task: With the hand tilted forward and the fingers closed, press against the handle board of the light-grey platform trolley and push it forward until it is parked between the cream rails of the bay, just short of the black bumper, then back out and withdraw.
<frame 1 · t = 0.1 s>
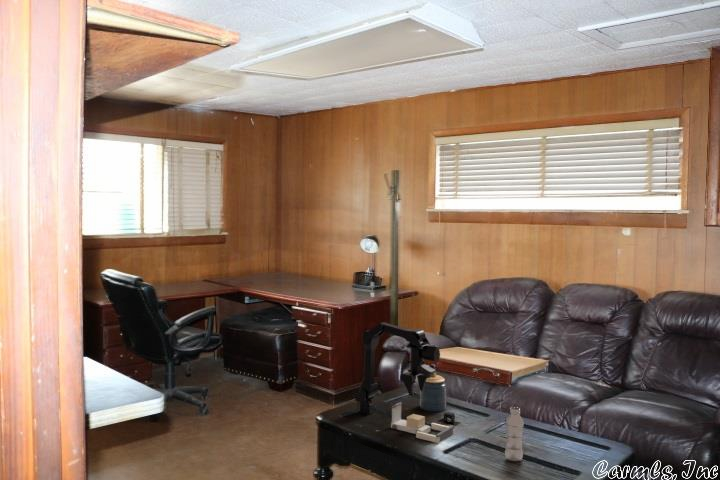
hand: (416, 392, 267), 15 cm above the table, tool pointing down, fingers open, 9 cm apart
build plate: (449, 423, 273), on the table
canister: (432, 408, 293), on the table
bay: (429, 433, 257), on the table
plastic bottle: (513, 460, 230), on the table
trolley: (410, 429, 262), on the table
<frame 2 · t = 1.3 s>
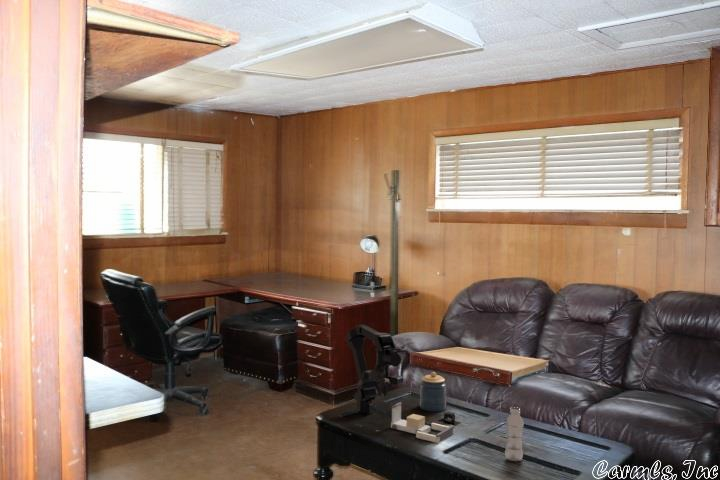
hand: (382, 396, 271), 12 cm above the table, tool pointing down, fingers closed
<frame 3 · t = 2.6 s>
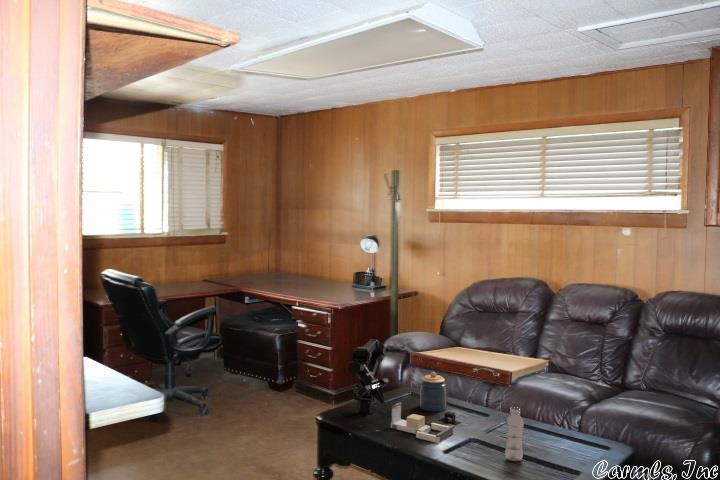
hand: (383, 402, 270), 9 cm above the table, tool tilted 45°, fingers closed
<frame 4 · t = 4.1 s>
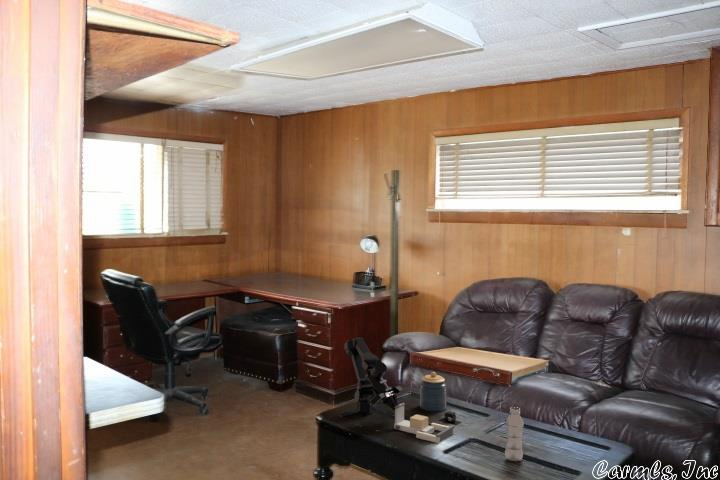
hand: (397, 411, 265), 7 cm above the table, tool tilted 45°, fingers closed, pressing on trolley
trolley: (413, 430, 261), on the table, touching gripper
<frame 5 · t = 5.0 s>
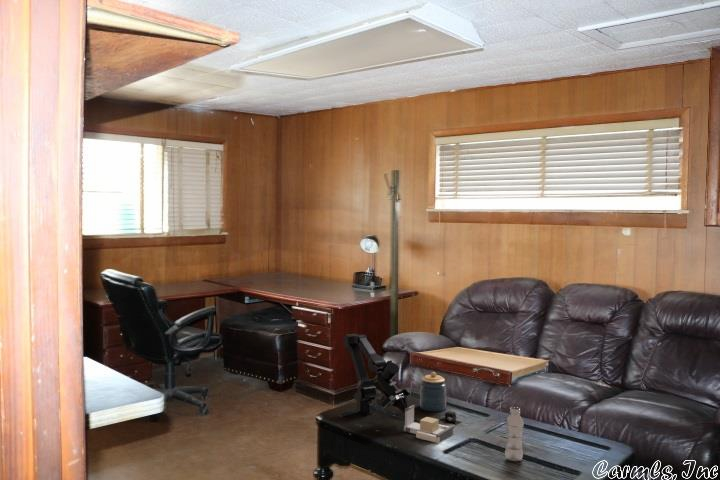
hand: (407, 413, 263), 7 cm above the table, tool tilted 45°, fingers closed, pressing on trolley
trolley: (424, 432, 258), on the table, touching gripper
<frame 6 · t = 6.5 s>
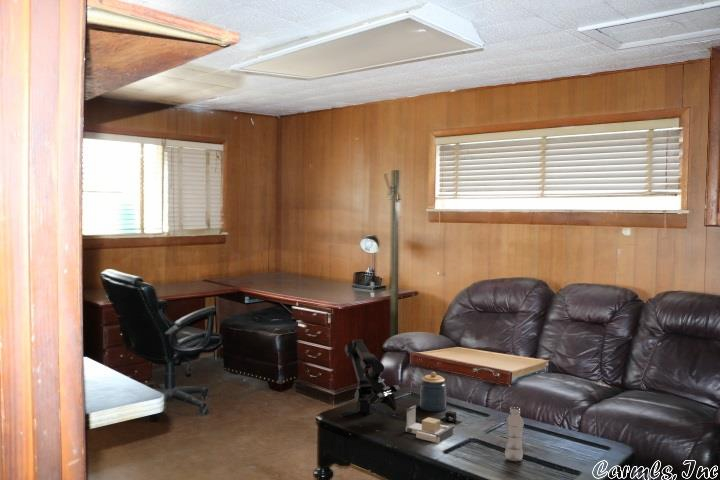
hand: (395, 410, 267), 7 cm above the table, tool tilted 45°, fingers closed
trolley: (425, 433, 258), on the table
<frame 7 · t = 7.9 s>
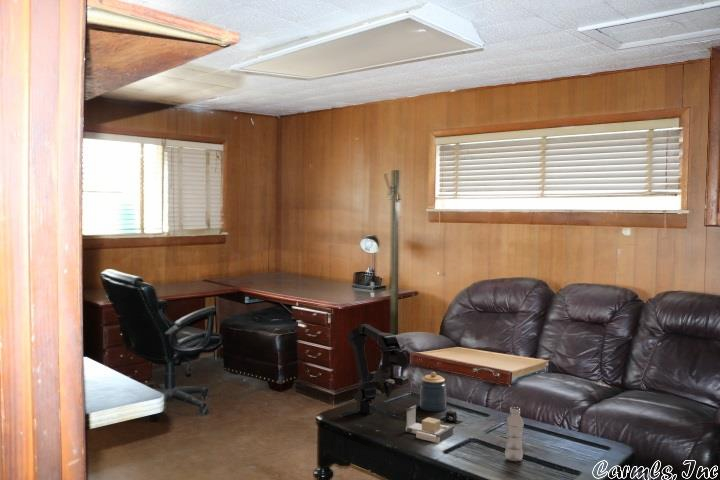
hand: (388, 397, 269), 12 cm above the table, tool pointing down, fingers closed
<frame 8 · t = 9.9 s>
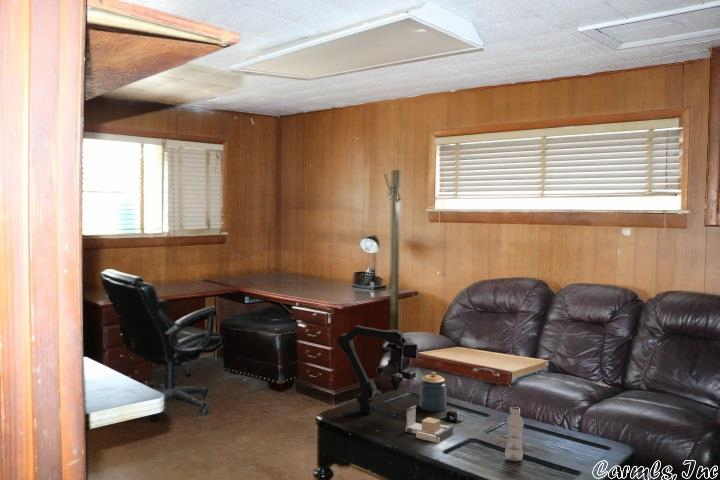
hand: (395, 390, 279), 12 cm above the table, tool pointing down, fingers closed
at the end: trolley 0.5 cm from the target spot on the bay, point 0.0 cm above the bay's base; trolley tilted 0°; trolley moved 7.5 cm from its start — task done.
